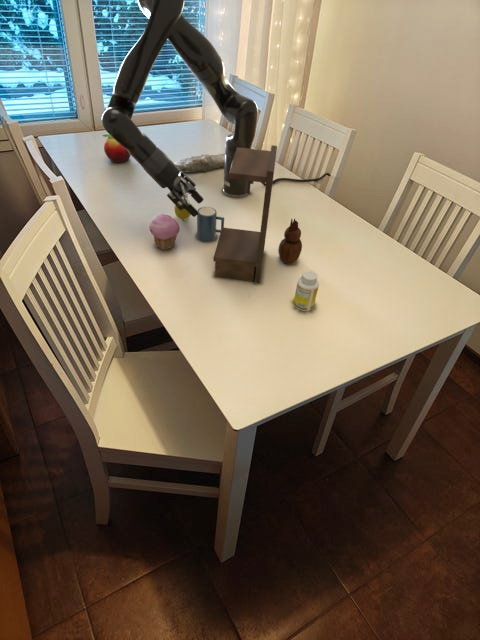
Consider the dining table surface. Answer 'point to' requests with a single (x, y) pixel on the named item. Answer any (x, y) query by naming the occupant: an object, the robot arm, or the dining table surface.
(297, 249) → the wooden figurine
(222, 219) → the mug
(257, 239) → the shelf
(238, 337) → the dining table surface
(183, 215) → the lemon
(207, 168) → the elongated rock
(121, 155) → the fruit
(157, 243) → the cupcake
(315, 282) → the supplement bottle
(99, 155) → the dining table surface
